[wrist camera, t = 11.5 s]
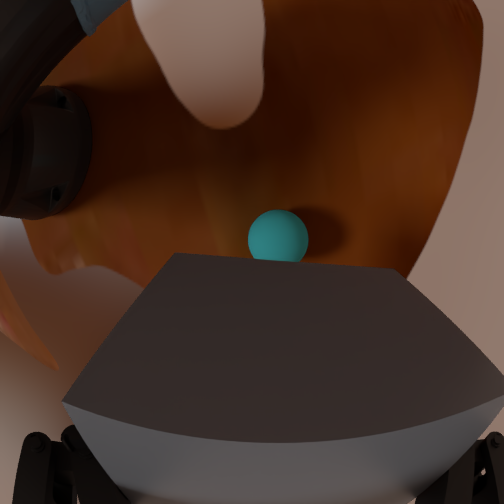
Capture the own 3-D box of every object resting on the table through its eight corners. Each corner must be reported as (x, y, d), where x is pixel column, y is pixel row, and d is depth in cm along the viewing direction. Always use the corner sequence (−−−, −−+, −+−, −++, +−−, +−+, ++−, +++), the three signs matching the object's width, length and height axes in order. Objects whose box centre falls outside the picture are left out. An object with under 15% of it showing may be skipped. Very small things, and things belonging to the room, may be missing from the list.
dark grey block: (174, 252, 12) (61, 400, 4) (393, 268, 12) (515, 389, 4) (185, 406, 15) (157, 528, 7) (343, 412, 15) (374, 525, 7)
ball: (245, 230, 20) (247, 200, 24) (248, 283, 23) (250, 247, 27) (315, 229, 19) (305, 199, 23) (309, 281, 22) (302, 246, 26)
